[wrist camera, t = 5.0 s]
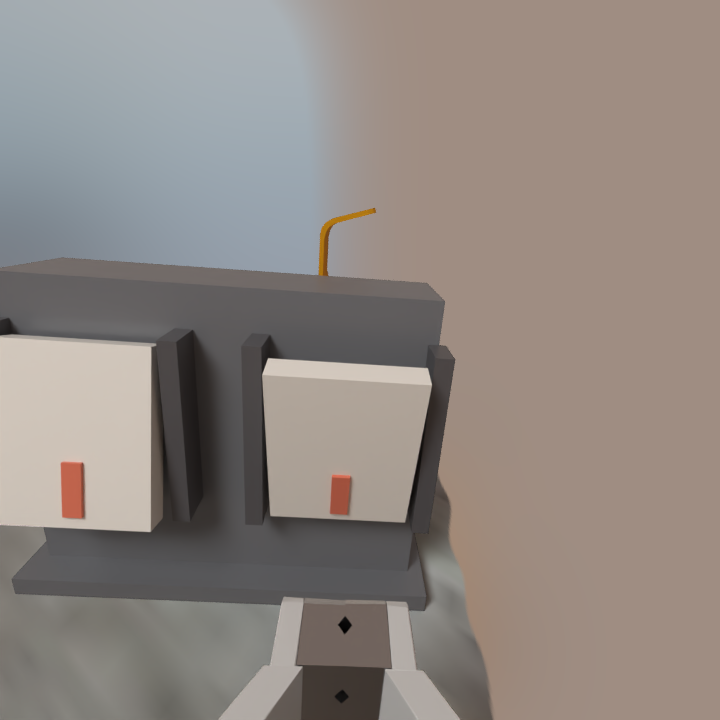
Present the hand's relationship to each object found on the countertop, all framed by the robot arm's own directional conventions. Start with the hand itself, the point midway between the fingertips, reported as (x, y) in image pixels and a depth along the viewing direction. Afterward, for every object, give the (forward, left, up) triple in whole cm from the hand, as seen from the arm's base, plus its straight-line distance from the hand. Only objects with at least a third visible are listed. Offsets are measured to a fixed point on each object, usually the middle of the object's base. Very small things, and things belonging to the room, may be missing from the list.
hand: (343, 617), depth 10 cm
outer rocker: (0, +14, -8) cm, 16 cm away
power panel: (-7, +18, -15) cm, 24 cm away
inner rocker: (-14, +12, -8) cm, 20 cm away
